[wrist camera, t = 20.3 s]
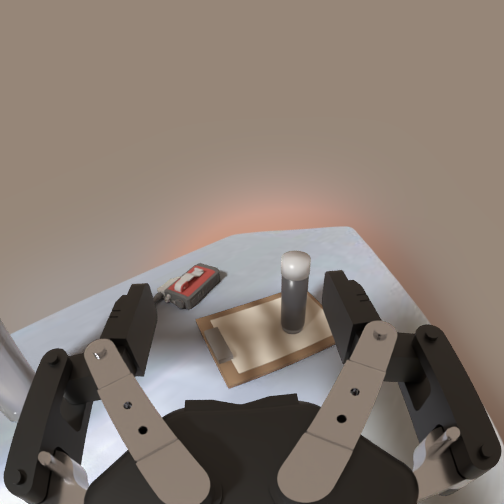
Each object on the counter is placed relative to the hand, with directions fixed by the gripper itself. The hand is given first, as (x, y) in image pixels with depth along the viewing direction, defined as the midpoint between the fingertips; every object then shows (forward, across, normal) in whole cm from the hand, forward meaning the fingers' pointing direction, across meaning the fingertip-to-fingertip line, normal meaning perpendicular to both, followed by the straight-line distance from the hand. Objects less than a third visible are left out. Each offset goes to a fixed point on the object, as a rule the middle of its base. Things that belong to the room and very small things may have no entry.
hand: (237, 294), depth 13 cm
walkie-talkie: (+37, +12, +29) cm, 48 cm away
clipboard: (+26, -4, +28) cm, 38 cm away
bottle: (+25, -8, +27) cm, 38 cm away
